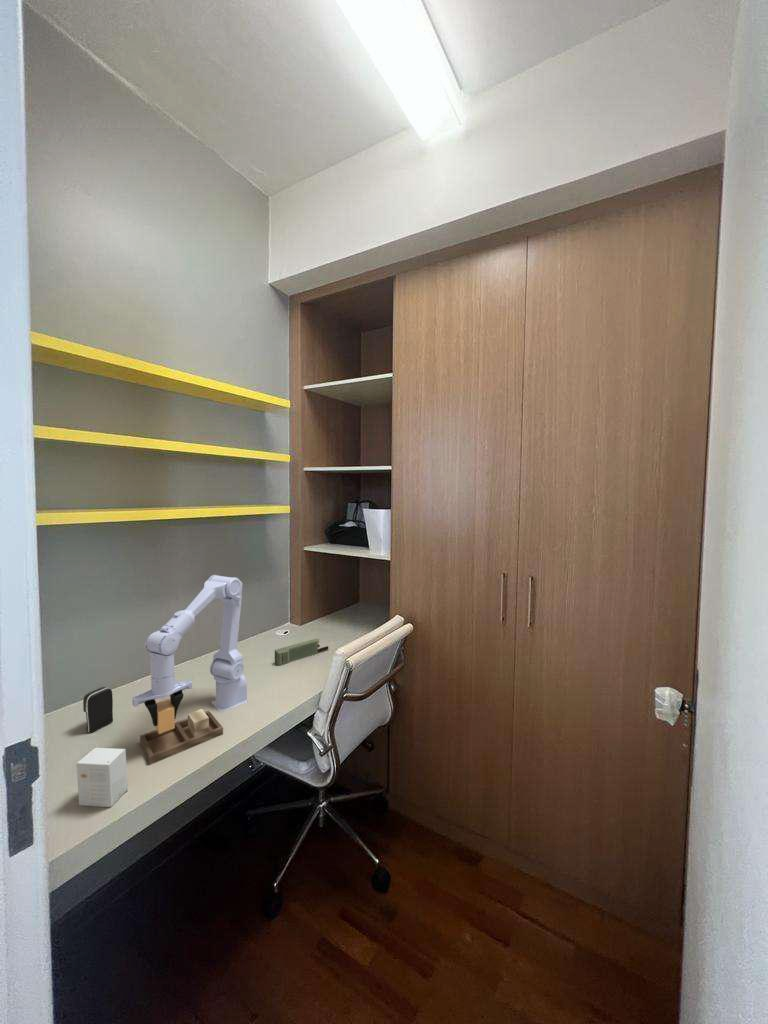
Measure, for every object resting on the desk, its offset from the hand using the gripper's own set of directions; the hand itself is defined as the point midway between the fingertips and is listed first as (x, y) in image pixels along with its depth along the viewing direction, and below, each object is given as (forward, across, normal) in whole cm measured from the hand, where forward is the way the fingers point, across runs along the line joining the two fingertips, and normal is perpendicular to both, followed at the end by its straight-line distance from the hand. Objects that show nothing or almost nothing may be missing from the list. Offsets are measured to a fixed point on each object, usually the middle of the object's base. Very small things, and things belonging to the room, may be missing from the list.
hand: (164, 721), depth 110 cm
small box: (+8, +16, +10) cm, 20 cm away
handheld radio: (+8, -60, -25) cm, 65 cm away
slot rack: (+8, -4, 0) cm, 9 cm away
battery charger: (+8, +12, -24) cm, 28 cm away
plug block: (+2, 0, 0) cm, 2 cm away
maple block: (+7, -9, 0) cm, 11 cm away
